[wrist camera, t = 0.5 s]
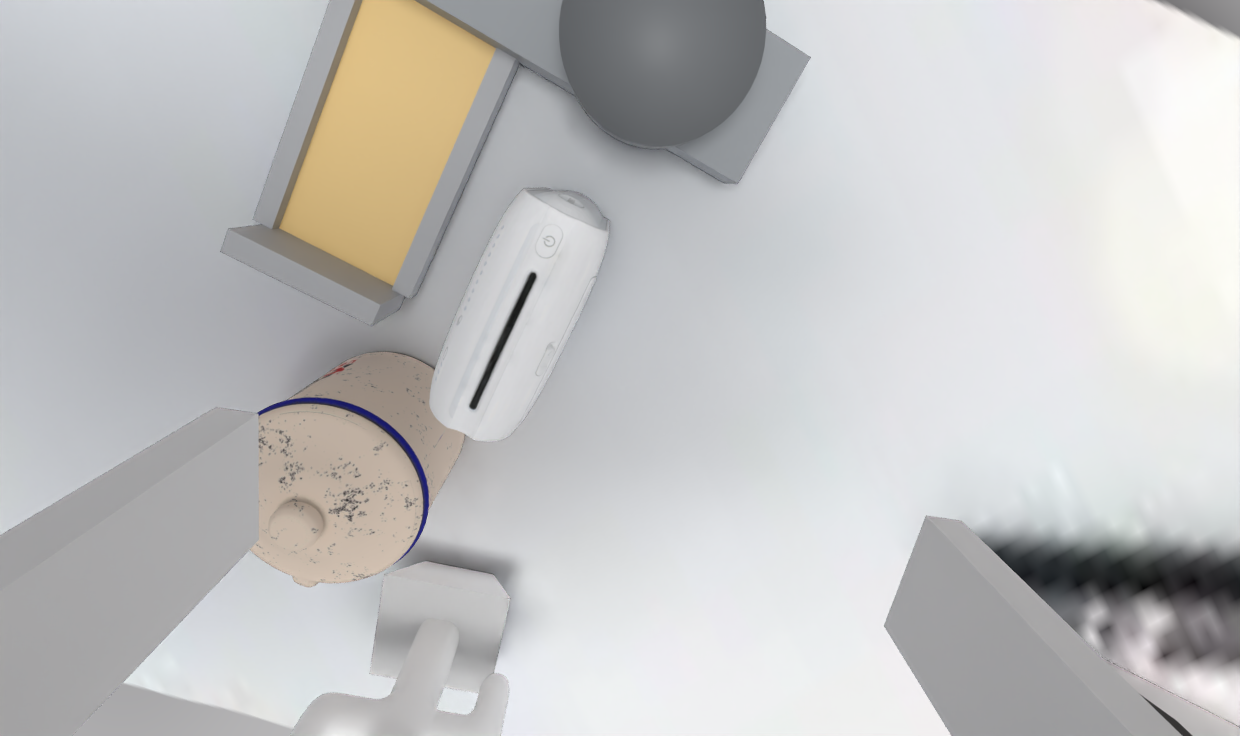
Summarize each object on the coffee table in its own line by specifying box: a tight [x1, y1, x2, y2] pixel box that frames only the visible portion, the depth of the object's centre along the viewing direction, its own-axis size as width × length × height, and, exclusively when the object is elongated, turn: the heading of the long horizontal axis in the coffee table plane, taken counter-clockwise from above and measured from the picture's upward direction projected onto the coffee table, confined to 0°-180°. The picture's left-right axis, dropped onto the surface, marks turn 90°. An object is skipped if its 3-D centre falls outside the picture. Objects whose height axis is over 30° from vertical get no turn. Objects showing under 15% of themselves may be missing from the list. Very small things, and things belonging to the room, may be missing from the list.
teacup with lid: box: [250, 352, 465, 587], centre depth 30 cm, size 12×9×12 cm
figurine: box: [290, 561, 511, 736], centre depth 31 cm, size 7×9×15 cm
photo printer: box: [429, 188, 610, 442], centre depth 27 cm, size 10×4×12 cm, turn 153°
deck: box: [220, 0, 811, 326], centre depth 27 cm, size 24×21×7 cm
